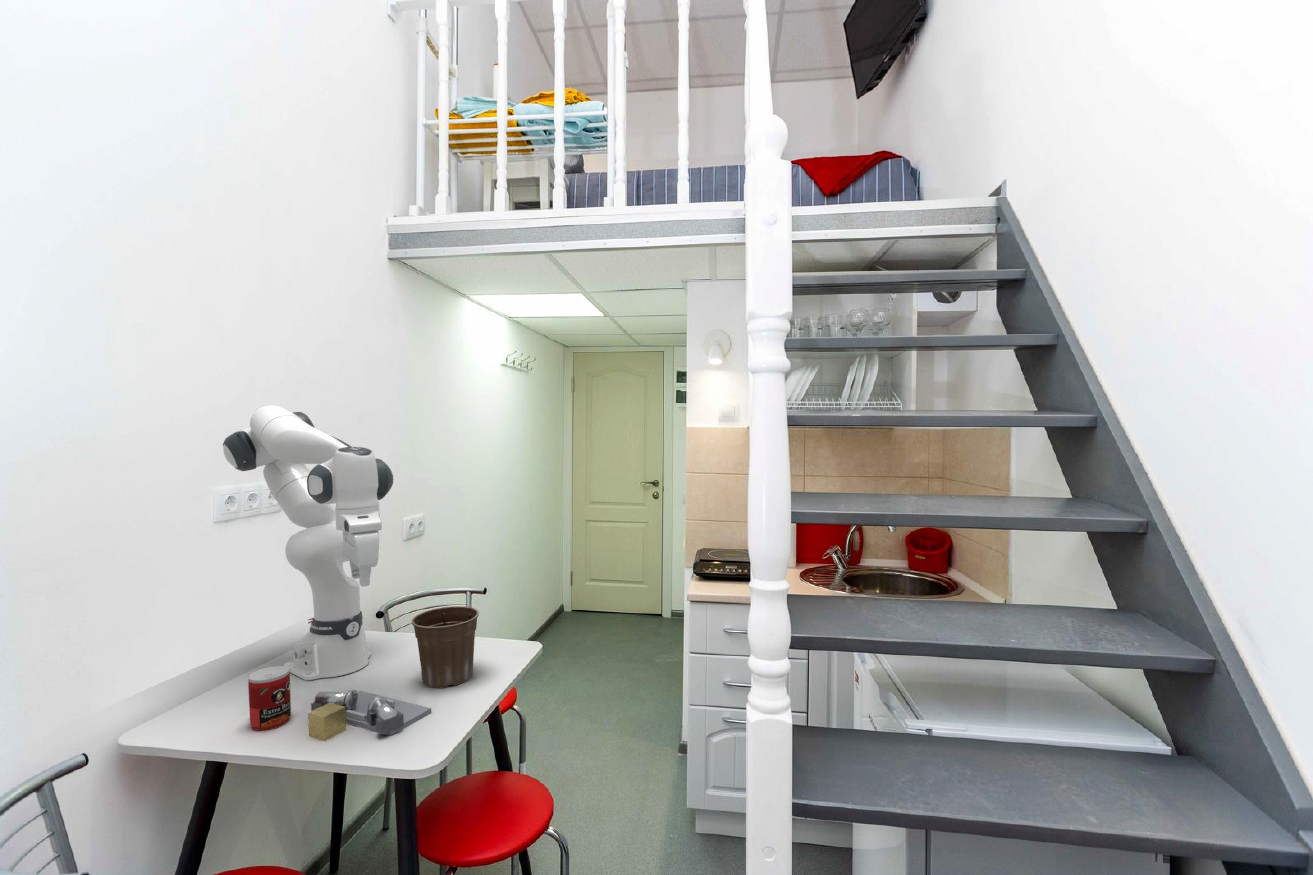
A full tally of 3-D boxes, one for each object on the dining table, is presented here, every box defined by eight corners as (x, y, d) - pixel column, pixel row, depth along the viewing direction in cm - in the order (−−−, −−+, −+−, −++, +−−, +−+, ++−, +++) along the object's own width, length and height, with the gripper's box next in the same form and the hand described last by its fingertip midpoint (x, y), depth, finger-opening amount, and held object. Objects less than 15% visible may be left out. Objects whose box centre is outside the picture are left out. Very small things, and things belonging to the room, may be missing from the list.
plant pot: (460, 694, 145) (458, 627, 145) (399, 690, 149) (397, 624, 148) (491, 667, 161) (490, 607, 161) (436, 664, 165) (434, 605, 164)
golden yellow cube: (308, 736, 127) (307, 712, 127) (330, 725, 132) (329, 702, 132) (324, 741, 125) (323, 717, 125) (346, 730, 130) (345, 706, 129)
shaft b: (403, 726, 128) (403, 705, 128) (380, 734, 125) (379, 712, 125) (388, 713, 134) (388, 693, 134) (366, 721, 131) (365, 700, 131)
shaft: (311, 715, 134) (310, 694, 134) (325, 705, 139) (324, 685, 139) (346, 715, 134) (345, 695, 134) (359, 705, 138) (358, 686, 138)
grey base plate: (318, 714, 137) (317, 705, 137) (360, 694, 146) (360, 685, 146) (390, 735, 127) (390, 725, 127) (431, 712, 136) (431, 702, 136)
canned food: (261, 734, 128) (259, 683, 128) (242, 725, 132) (240, 675, 132) (298, 719, 135) (296, 670, 134) (279, 711, 139) (278, 663, 139)
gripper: (334, 517, 142) (337, 576, 142) (350, 526, 125) (353, 593, 126) (364, 514, 146) (366, 571, 146) (383, 522, 129) (386, 587, 129)
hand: (360, 581), depth 136 cm, fingers open, 8 cm apart
